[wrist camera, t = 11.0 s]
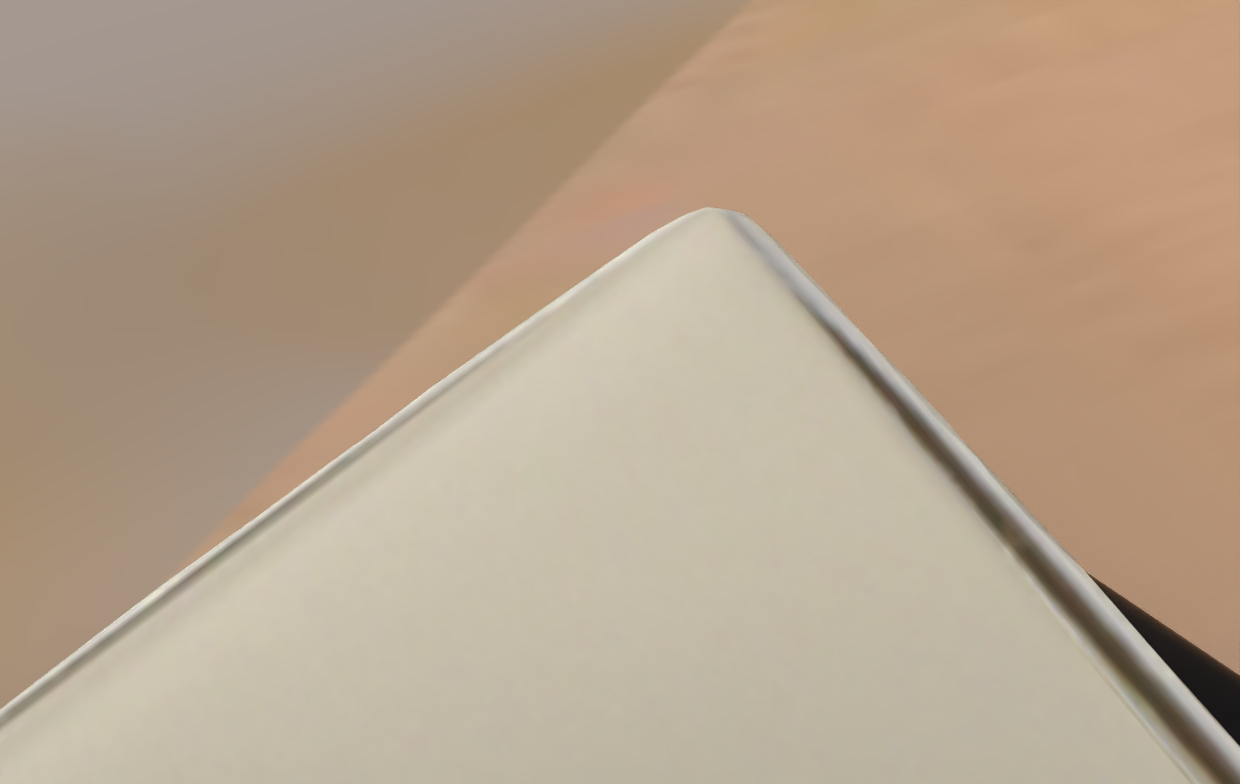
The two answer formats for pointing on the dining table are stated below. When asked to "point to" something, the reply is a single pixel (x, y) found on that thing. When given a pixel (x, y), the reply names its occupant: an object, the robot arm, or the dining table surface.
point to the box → (635, 581)
